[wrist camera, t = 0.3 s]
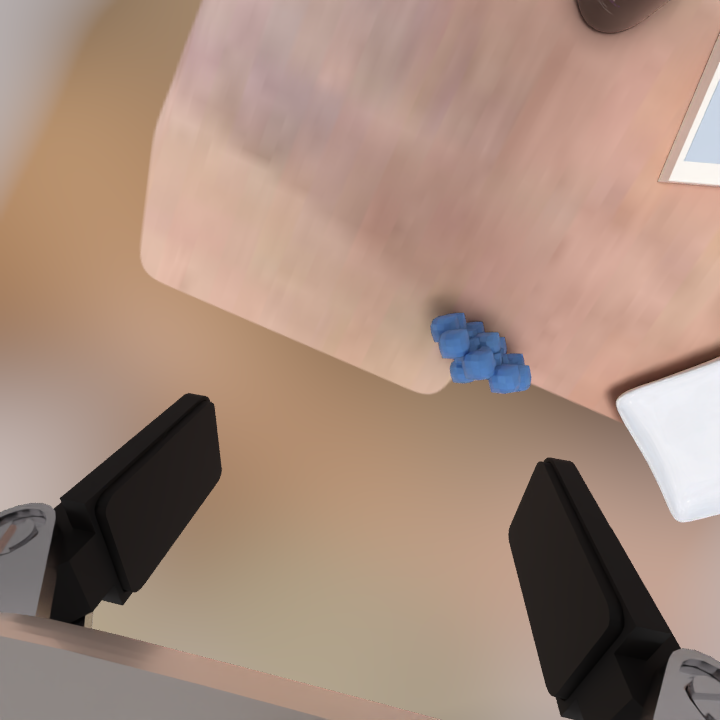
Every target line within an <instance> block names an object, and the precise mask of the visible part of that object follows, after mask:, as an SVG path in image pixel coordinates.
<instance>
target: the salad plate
mask: <svg viewBox="0 0 720 720" xmlns="http://www.w3.org/2000/svg"><path fill="white" fill-rule="evenodd" d="M616 407H617V410H618V412H619V414H620V416H621V418H622V420H623V422H624V424H625V426H626V427H627V429H628V431H629V432H630V434H631V436H632V437H633V439H634V441H635V442H636V444H637V446H638V447H639V449H640V451H641V453H642V454H643V456H644V458H645V460H646V462H647V463H648V465H649V467H650V469H651V471H652V473H653V475H654V477H655V479H656V481H657V483H658V486H659V488H660V490H661V492H662V495H663V497H664V499H665V502H666V504H667V506H668V508H669V510H670V512H671V514H672V516H673V517H674V518H675V519H676V520H677V521H679V522H689V521H694V520H698V519H702V518H706V517H710V516H714V515H718V514H720V357H717V358H715V359H712V360H710V361H707V362H705V363H702V364H699V365H697V366H694V367H692V368H689V369H686V370H683V371H681V372H678V373H675V374H672V375H670V376H667V377H664V378H661V379H659V380H656V381H653V382H650V383H647V384H644V385H641V386H638V387H635V388H633V389H630V390H628V391H626V392H624V393H622V394H621V395H620V396H619V397H618V398H617V400H616Z"/></svg>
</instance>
